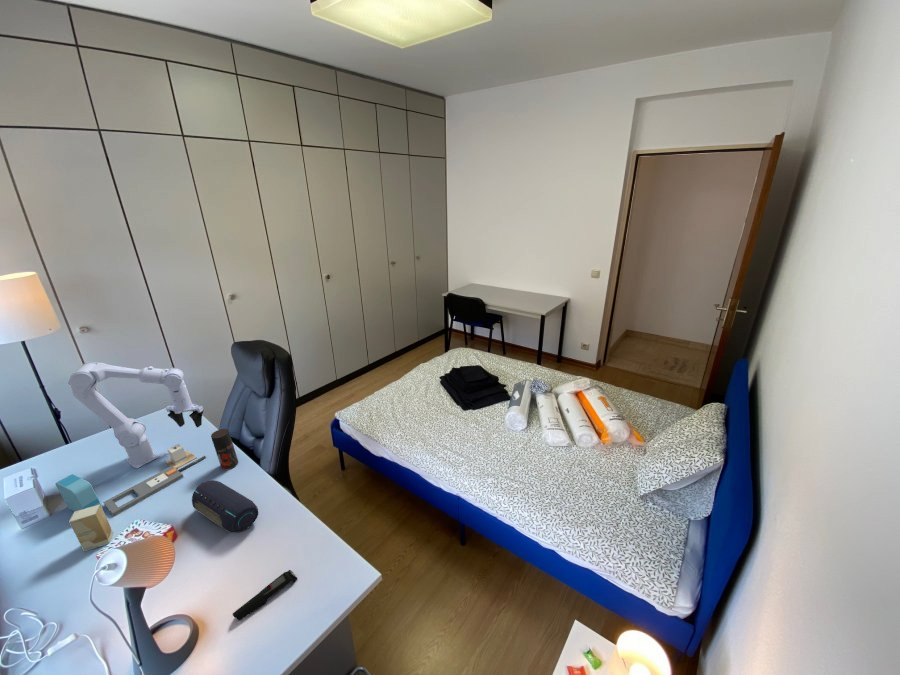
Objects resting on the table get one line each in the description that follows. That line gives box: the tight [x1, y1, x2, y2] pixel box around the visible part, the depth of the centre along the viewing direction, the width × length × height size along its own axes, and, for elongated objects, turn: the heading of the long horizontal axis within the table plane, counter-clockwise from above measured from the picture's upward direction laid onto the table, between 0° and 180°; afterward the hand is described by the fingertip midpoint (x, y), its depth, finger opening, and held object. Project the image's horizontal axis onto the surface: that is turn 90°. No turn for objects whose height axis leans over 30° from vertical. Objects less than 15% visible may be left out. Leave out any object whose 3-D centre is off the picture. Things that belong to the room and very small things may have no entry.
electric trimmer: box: [232, 569, 298, 621], centre depth 95 cm, size 4×16×3 cm, turn 137°
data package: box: [55, 474, 103, 513], centre depth 122 cm, size 12×4×12 cm, turn 67°
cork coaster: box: [165, 450, 198, 470], centre depth 146 cm, size 8×8×1 cm
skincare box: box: [68, 504, 114, 552], centre depth 110 cm, size 6×4×12 cm
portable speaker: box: [191, 479, 259, 534], centre depth 118 cm, size 25×10×10 cm, turn 61°
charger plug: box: [167, 443, 187, 465], centre depth 145 cm, size 4×4×6 cm
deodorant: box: [210, 428, 239, 471], centre depth 141 cm, size 6×6×15 cm
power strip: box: [103, 455, 207, 517], centre depth 135 cm, size 9×31×2 cm, turn 147°
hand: (190, 425), depth 151 cm, fingers open, 7 cm apart
